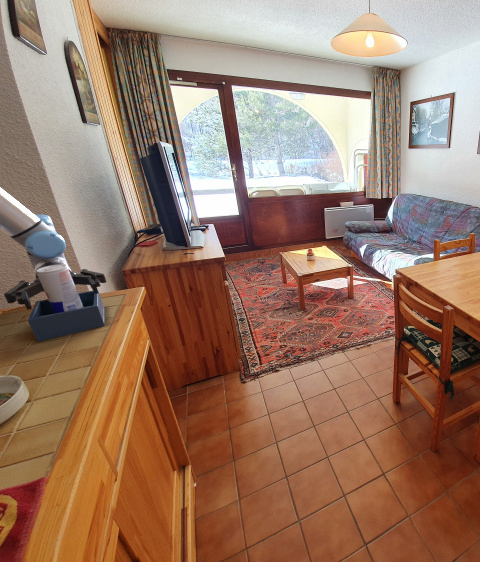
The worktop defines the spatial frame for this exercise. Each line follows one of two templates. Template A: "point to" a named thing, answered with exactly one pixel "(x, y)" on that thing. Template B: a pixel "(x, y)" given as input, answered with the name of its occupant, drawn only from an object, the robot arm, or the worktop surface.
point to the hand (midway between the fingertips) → (63, 296)
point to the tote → (67, 317)
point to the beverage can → (59, 288)
